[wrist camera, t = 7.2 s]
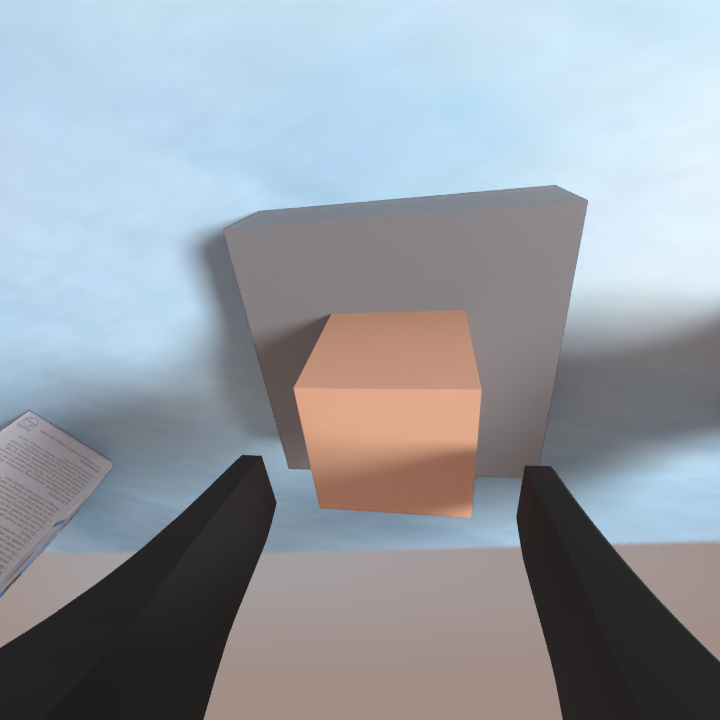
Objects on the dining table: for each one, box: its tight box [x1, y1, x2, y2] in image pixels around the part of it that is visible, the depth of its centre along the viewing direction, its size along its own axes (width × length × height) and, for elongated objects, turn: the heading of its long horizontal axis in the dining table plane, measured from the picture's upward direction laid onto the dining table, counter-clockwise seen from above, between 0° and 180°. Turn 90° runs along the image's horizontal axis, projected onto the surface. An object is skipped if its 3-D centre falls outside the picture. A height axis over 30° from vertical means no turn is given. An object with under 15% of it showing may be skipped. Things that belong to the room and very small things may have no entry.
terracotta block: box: [294, 310, 482, 518], centre depth 14 cm, size 5×5×5 cm
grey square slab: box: [223, 185, 588, 478], centre depth 17 cm, size 12×12×4 cm
